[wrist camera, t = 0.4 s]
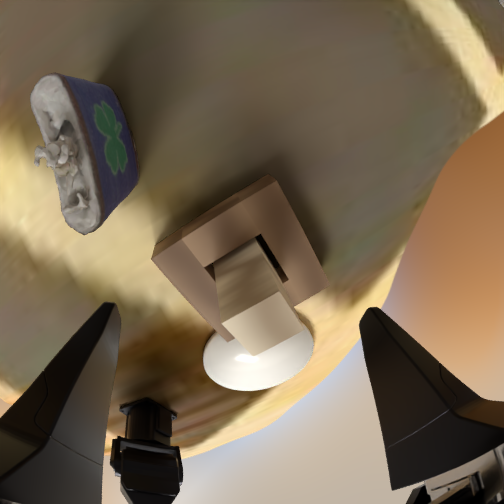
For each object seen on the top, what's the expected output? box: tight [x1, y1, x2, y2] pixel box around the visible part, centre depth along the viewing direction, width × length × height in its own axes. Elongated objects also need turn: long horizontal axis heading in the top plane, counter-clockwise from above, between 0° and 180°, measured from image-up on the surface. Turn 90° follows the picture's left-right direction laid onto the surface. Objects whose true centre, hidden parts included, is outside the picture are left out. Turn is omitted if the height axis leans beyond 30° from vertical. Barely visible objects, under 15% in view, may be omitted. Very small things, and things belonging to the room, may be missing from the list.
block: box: [214, 237, 305, 357], centre depth 21 cm, size 4×4×9 cm
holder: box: [151, 174, 330, 342], centre depth 24 cm, size 11×11×2 cm
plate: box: [203, 321, 314, 391], centre depth 31 cm, size 13×13×1 cm
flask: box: [30, 73, 139, 235], centre depth 14 cm, size 9×3×11 cm, turn 12°
